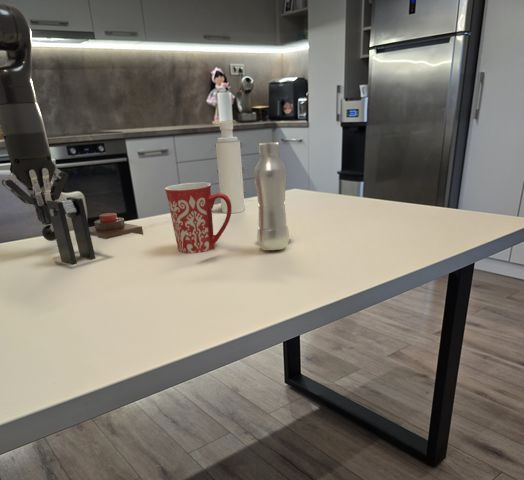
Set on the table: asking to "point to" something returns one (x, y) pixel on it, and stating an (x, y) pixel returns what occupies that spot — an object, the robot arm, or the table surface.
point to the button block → (113, 229)
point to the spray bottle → (230, 168)
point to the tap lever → (69, 212)
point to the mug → (194, 216)
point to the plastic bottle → (271, 198)
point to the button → (108, 217)
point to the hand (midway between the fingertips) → (47, 223)
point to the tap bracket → (64, 235)
